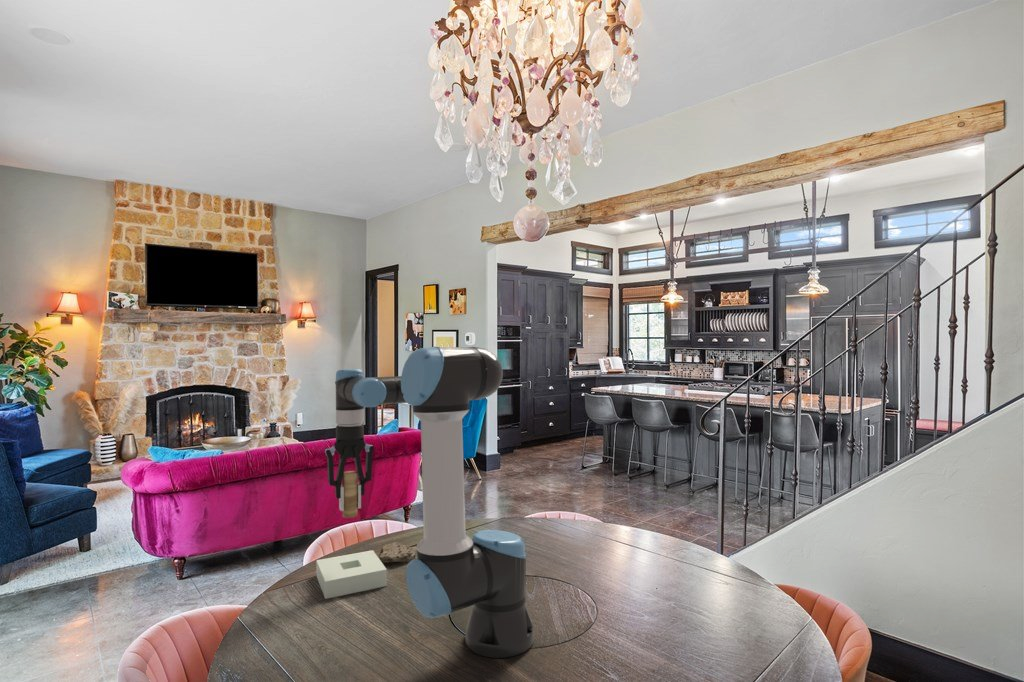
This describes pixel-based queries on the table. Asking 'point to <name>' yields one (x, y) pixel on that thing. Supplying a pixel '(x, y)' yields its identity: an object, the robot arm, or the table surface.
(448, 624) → the table surface
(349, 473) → the dowel
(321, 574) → the socket block
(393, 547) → the rock
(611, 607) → the table surface
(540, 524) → the table surface
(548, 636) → the table surface
